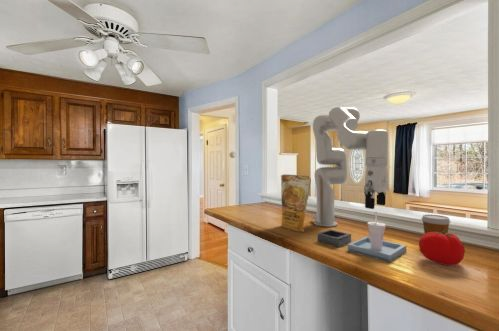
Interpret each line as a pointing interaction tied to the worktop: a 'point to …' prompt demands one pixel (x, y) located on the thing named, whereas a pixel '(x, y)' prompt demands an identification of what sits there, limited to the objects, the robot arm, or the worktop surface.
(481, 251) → the worktop surface
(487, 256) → the worktop surface
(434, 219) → the disposable coffee cup
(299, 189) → the pancake mix bag
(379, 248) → the smoothie
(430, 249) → the tomato
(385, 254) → the tray
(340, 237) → the dark grey open box
